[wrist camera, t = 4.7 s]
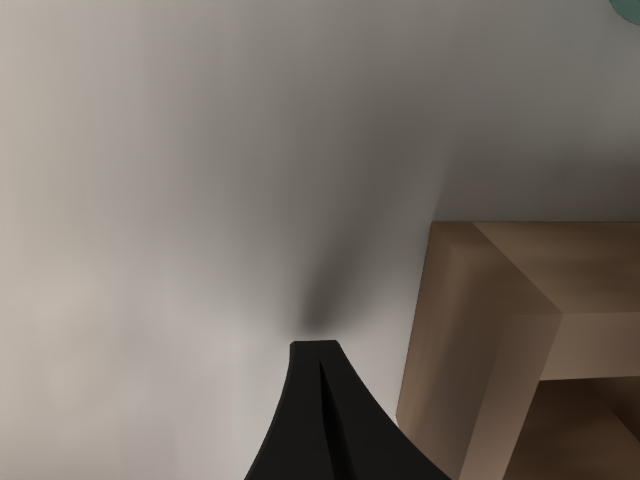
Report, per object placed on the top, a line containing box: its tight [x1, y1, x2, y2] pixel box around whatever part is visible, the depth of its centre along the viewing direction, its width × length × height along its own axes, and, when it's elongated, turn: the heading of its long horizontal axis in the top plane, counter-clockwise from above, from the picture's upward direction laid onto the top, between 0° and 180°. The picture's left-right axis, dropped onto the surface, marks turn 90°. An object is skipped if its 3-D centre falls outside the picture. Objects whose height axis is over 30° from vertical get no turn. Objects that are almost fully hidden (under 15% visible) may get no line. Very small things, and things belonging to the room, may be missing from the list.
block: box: [396, 222, 640, 480], centre depth 13 cm, size 8×8×4 cm
